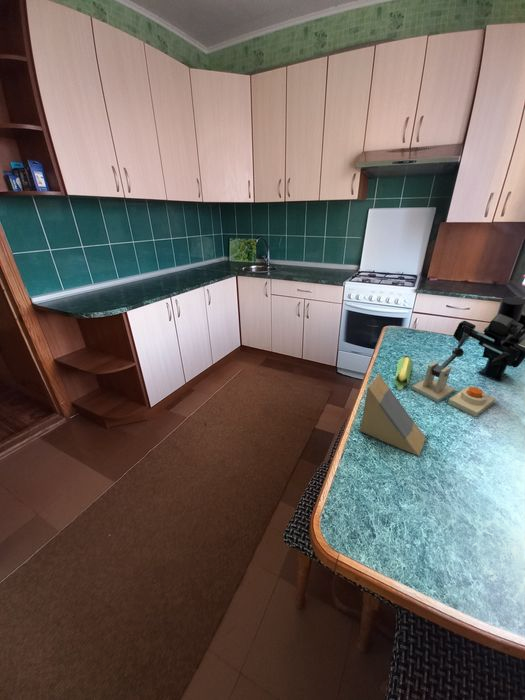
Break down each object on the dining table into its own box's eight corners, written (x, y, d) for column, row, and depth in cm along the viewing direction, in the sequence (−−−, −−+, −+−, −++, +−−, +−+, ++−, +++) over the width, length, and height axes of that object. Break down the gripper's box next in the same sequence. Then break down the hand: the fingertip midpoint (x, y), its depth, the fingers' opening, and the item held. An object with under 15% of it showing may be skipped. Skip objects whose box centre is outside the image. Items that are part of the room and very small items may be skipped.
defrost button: (470, 390, 92) (472, 385, 91) (483, 395, 89) (485, 391, 88) (464, 393, 90) (466, 389, 89) (477, 399, 87) (479, 395, 86)
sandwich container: (419, 457, 72) (434, 409, 65) (359, 431, 81) (367, 386, 74) (426, 436, 78) (441, 391, 71) (370, 414, 87) (378, 372, 80)
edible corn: (412, 366, 112) (415, 355, 109) (407, 393, 96) (410, 381, 94) (398, 363, 114) (400, 352, 112) (390, 389, 98) (393, 377, 96)
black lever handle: (455, 351, 100) (456, 344, 98) (465, 354, 97) (466, 347, 95) (430, 374, 96) (431, 368, 94) (440, 379, 93) (441, 372, 91)
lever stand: (427, 379, 103) (434, 356, 99) (454, 391, 96) (462, 367, 92) (411, 388, 98) (417, 365, 94) (437, 402, 92) (445, 377, 87)
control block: (466, 390, 97) (469, 381, 95) (493, 402, 91) (497, 393, 89) (447, 403, 91) (450, 394, 89) (475, 417, 85) (479, 407, 83)
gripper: (480, 299, 92) (453, 318, 85) (551, 326, 80) (526, 351, 74) (465, 326, 99) (439, 346, 93) (528, 356, 88) (504, 380, 81)
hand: (474, 354), depth 85 cm, fingers open, 9 cm apart
